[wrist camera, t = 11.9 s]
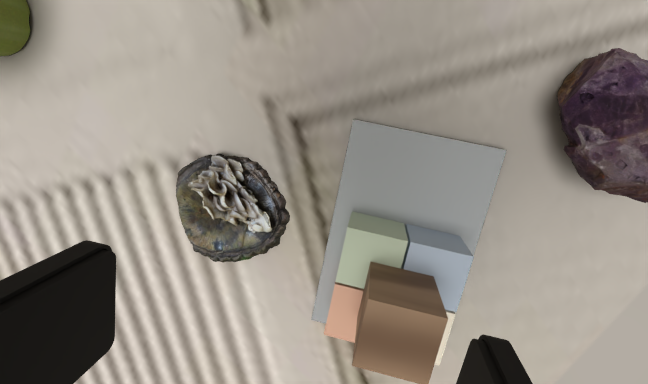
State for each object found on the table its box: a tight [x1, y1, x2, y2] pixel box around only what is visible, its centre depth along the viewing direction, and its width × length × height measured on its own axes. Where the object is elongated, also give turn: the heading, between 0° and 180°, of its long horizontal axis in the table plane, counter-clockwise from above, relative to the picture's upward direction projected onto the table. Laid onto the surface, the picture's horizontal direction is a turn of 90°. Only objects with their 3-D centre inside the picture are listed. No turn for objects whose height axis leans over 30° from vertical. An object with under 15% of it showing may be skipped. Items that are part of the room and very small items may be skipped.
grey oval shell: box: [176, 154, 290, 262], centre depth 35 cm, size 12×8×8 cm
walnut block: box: [352, 262, 448, 384], centre depth 26 cm, size 5×5×6 cm
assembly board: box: [311, 119, 507, 324], centre depth 33 cm, size 20×13×1 cm, turn 169°
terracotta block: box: [324, 282, 364, 343], centre depth 32 cm, size 5×5×5 cm
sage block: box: [335, 211, 408, 289], centre depth 31 cm, size 5×5×5 cm
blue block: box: [401, 224, 474, 312], centre depth 30 cm, size 5×5×5 cm
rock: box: [557, 48, 648, 203], centre depth 25 cm, size 12×9×10 cm
